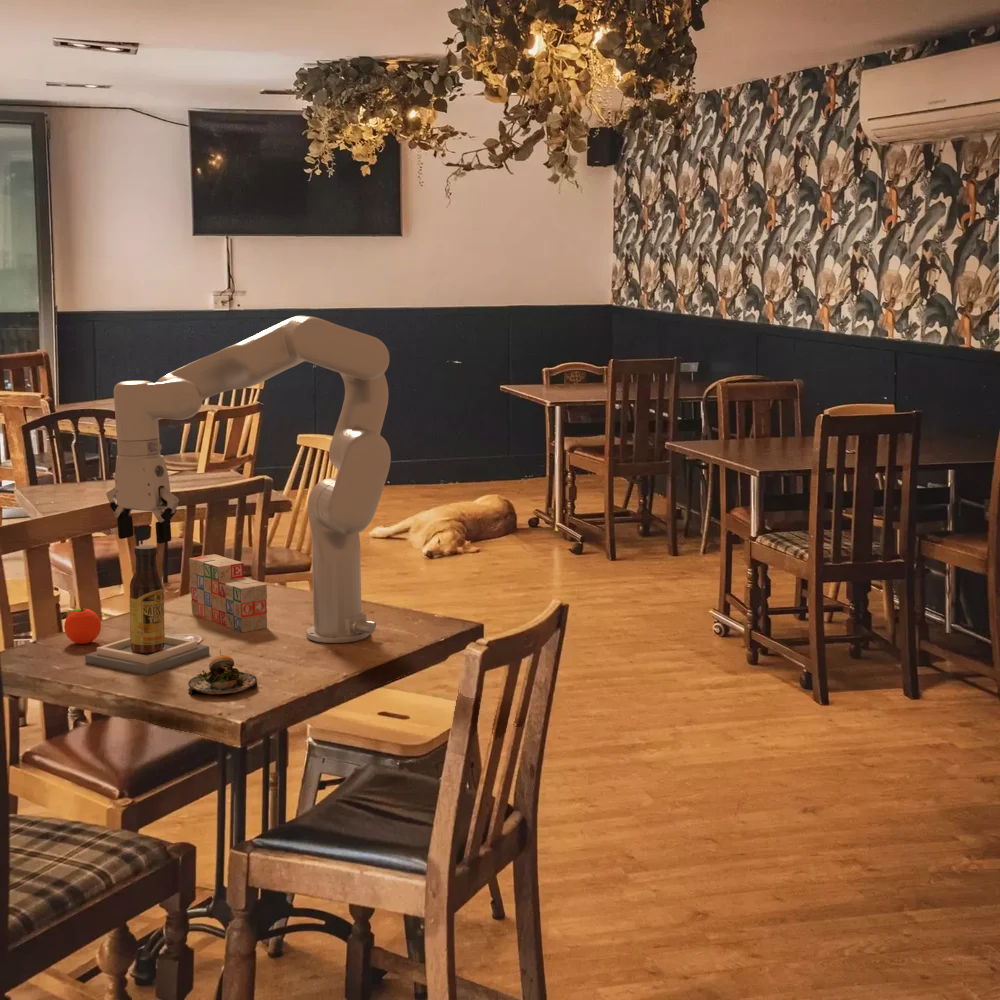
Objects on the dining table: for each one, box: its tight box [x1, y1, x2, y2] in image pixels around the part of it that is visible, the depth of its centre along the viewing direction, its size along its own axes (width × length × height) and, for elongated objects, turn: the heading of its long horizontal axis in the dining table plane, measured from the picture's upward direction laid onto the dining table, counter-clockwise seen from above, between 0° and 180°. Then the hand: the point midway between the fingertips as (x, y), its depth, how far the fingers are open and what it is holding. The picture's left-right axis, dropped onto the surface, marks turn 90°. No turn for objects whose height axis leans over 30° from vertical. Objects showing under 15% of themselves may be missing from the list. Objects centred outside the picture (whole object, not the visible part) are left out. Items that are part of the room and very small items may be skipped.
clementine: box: [60, 607, 102, 645], centre depth 266 cm, size 8×7×7 cm
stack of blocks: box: [188, 553, 268, 633], centre depth 283 cm, size 21×6×12 cm, turn 40°
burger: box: [187, 651, 258, 696], centre depth 237 cm, size 12×12×8 cm
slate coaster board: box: [84, 634, 210, 676], centre depth 256 cm, size 16×16×3 cm
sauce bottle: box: [129, 544, 166, 654], centre depth 254 cm, size 7×6×20 cm
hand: (144, 539), depth 252 cm, fingers open, 9 cm apart
